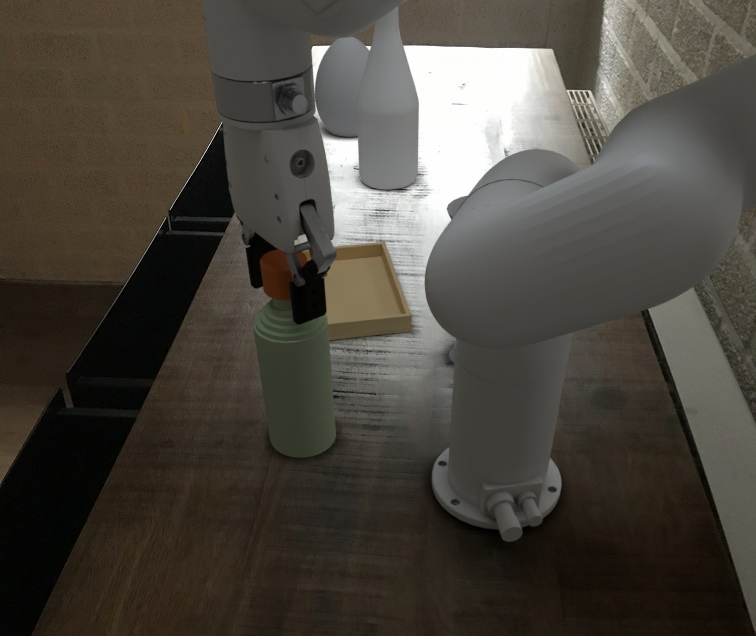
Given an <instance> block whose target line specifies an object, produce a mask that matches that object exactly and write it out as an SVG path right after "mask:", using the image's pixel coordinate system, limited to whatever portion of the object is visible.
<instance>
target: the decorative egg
mask: <svg viewBox="0 0 756 636" xmlns="http://www.w3.org/2000/svg"><path fill="white" fill-rule="evenodd" d="M369 52H370V49H369V48H368V46H366V45H365V43H363V42H362V41H361V40H360V39H358V38H356V37H354V36H351V37H346V38H336V39H335V41H333V42H332V44H330V45H329V47H328V48H327V49H326V51H325V52H324V54H323V56H322V58H321V60H320V63H319V65H318V68H317V70H316V71H317V72H316V75H315V80H314V92H315V107H316V111H317V114H318V116H319V119H320V121H321V123H322V124H323V126H324V127H325V128H326V130H327V131H328V132H329V133H330V134H332V135H335V136H337V137H344V138H353V137H358V127H357V98H358V94H359V89H360V85H361V82H362V78H363V75H364V71H365V67H366V63H367V60H368V56H369Z"/></svg>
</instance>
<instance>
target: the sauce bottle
mask: <svg viewBox="0 0 756 636" xmlns="http://www.w3.org/2000/svg"><path fill="white" fill-rule="evenodd" d="M252 328H253V334H254V342H255V348H256V354H257V361H258V362H257V363H258V368H259V369H258V370H259V375H260V382H261V388H262V394H263V395H262V396H263V401H264V402H263V403H264V408H265V414H266V423H267V428H268V434H269V440H270V444H271V446H272V447H273V449H274V450H276V452H278V453H280V454H281V455H284V456H286V457H290V458H296V459H299V458H300V459H302V458H311V457H315V456H318V455H321V454H322V453H324V452H326V451H327V450H329V449H330V448H331V447H332V445H333V444H334V443H335V441H336V438H337V428H336V427H337V426H336V415H335V413H336V412H335V401H334V388H333V386H334V385H333V373H332V371H333V370H332V359H331V358H332V357H331V347H330V340H329V330H328V318H327V315H326V314H325V315H324V316H321V317H319V318H316V319H313V320H311V321H308V322H306V323H303V324H300V325H298V324H296V323H295V322H294V321H293V315H292V306H291V300H277V299H273V298H270V300H269V301H268V302H267V303H266V304H264V305H263V307H262V308H260V309H259V310H258V312H257V313H256V315H255V317H254V319H253V322H252Z"/></svg>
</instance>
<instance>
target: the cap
mask: <svg viewBox="0 0 756 636" xmlns="http://www.w3.org/2000/svg"><path fill="white" fill-rule="evenodd" d="M297 255H298V258H299V262H300V265H301V268H302V267H303V266H304V264H305V263H306V262H307V256H306V255H305V254H304V253H303V252H299V253H297ZM260 266H261V274H262V281H263V287H262V288H263V292H264V295H266V296H267V297H268V298H270V299H272V298H273V299H277V300H291V297H290V287H289V283H290V282H292V281H294V280H293V277H292V274H291V271H290V268H289V265H288V262H287V259H286V256H285V252H283V251H281V250H279V249H277V250H273V251H270V252H268V253H266V254H265V255H263V256H262V258H261V259H260Z"/></svg>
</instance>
